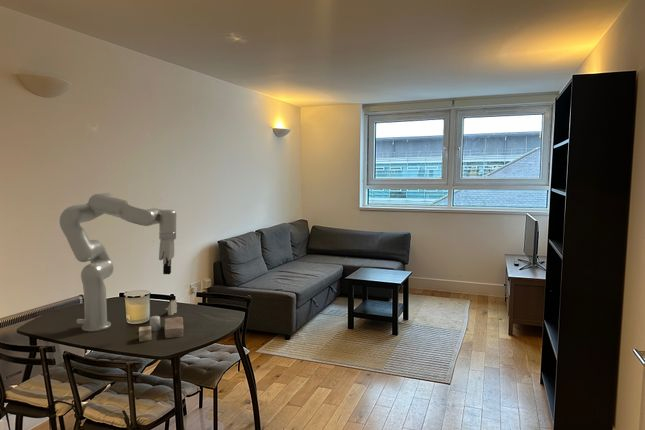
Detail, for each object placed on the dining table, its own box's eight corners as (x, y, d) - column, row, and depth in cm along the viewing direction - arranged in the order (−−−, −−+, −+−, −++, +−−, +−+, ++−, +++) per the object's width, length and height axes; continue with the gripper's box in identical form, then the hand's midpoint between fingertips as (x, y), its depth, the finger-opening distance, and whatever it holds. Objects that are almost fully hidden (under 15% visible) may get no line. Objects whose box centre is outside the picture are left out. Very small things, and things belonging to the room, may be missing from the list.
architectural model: (165, 315, 235) (164, 302, 234) (172, 311, 241) (171, 298, 241) (171, 316, 234) (170, 302, 233) (178, 312, 241) (177, 298, 240)
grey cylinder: (148, 331, 210) (148, 319, 210) (151, 328, 215) (151, 315, 214) (158, 331, 211) (158, 318, 210) (161, 327, 215) (161, 315, 215)
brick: (183, 336, 204) (183, 326, 204) (164, 338, 202) (164, 328, 201) (182, 325, 220) (182, 316, 220) (164, 327, 217) (164, 317, 217)
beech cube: (139, 341, 198) (138, 330, 197) (139, 337, 202) (139, 327, 202) (151, 340, 199) (150, 329, 199) (151, 336, 204) (151, 325, 204)
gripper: (163, 233, 218) (163, 270, 219) (154, 237, 203) (154, 277, 205) (179, 234, 218) (178, 270, 220) (171, 238, 203) (171, 277, 205)
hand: (167, 273), depth 212 cm, fingers closed
